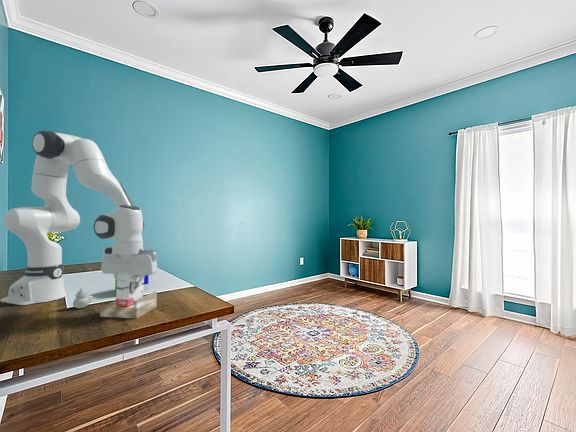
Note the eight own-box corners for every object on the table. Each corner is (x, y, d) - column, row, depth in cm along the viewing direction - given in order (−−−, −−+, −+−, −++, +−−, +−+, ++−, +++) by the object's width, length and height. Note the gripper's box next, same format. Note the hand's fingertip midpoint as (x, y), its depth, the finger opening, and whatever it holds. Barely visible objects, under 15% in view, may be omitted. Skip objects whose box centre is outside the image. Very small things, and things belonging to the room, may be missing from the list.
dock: (99, 316, 99) (99, 299, 99) (123, 305, 111) (123, 290, 111) (136, 318, 98) (136, 301, 98) (156, 306, 110) (156, 291, 110)
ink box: (127, 307, 100) (128, 273, 100) (115, 306, 101) (116, 272, 101) (144, 300, 108) (144, 269, 108) (132, 299, 109) (133, 268, 109)
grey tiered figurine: (69, 308, 107) (69, 287, 107) (88, 303, 113) (88, 284, 113) (77, 311, 105) (77, 289, 105) (96, 305, 111) (95, 285, 110)
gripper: (160, 248, 106) (160, 284, 106) (110, 247, 109) (110, 282, 109) (150, 250, 100) (150, 289, 100) (98, 249, 102) (98, 287, 102)
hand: (129, 285), depth 104 cm, fingers open, 6 cm apart
